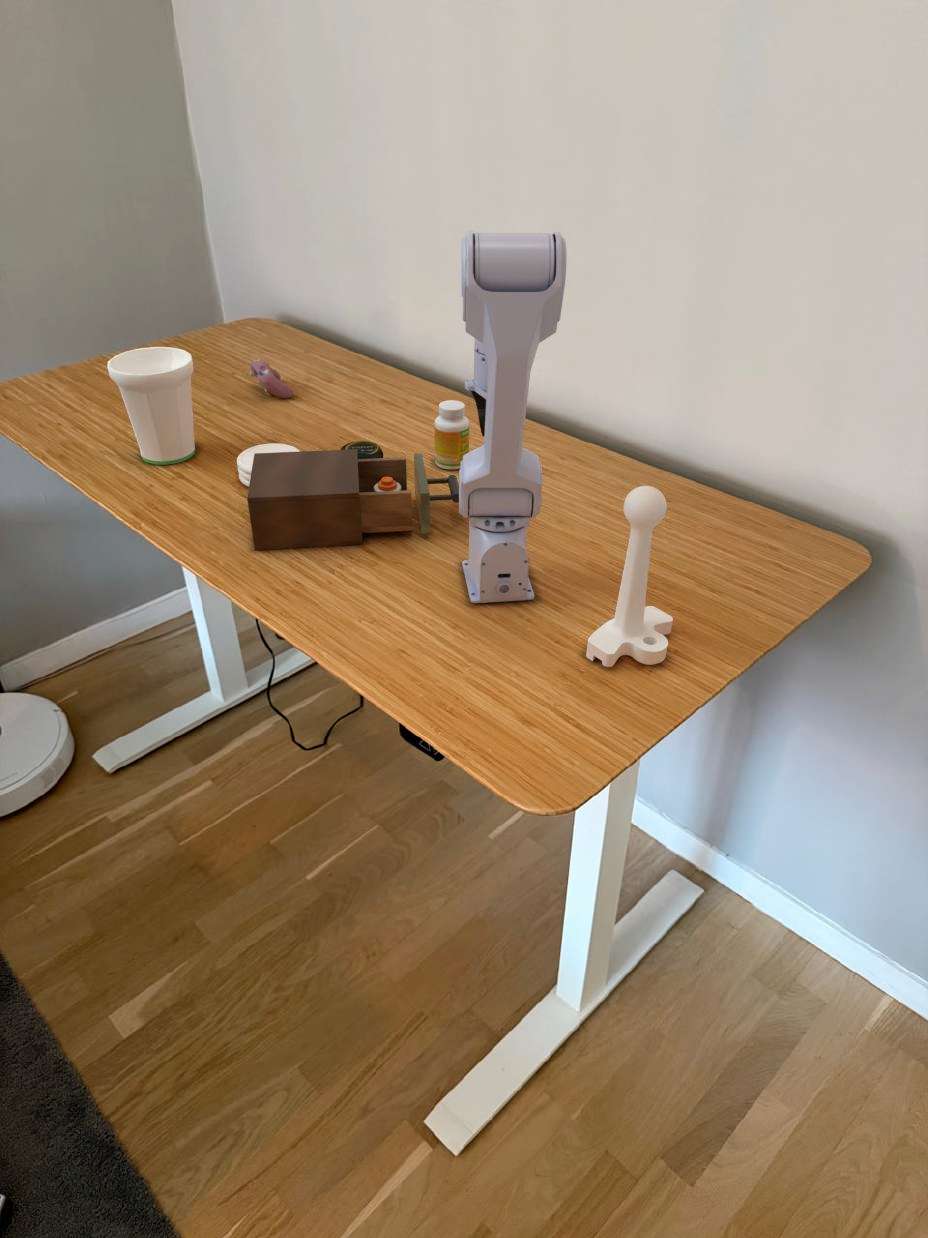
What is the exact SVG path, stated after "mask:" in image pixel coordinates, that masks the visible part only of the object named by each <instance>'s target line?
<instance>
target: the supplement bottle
mask: <svg viewBox="0 0 928 1238" xmlns="http://www.w3.org/2000/svg"><path fill="white" fill-rule="evenodd" d="M465 414H466V405H465V403H464V402H462V401H461V400H455V399H449V400H444V401H441V402H440V403H439V404H438V416H437V417H436V418H435V420H434V463H435V465H436V466H437V467H438V468H440V469H443V470H460V466H461V461H462V460H463V456H464V455H465V454H467V453H469V452H470V420H469V418H468V417H467V416H466V415H465Z"/></svg>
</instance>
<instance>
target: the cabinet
mask: <svg viewBox="0 0 928 1238" xmlns="http://www.w3.org/2000/svg"><path fill="white" fill-rule="evenodd" d="M246 499H247V507H248V513H249V519H250V527H251V534H252V540H253V547H254V551H265V550H283V549H284V550H285V549H304V548H305V549H306V548H322V547H339V546H340V547H341V546H342V547H343V546H358V545H361V546H362V545H363V533H362V526H361V511H360V496H359V478H358V460H357V449H347V450H340V449H327V450H326V449H325V450H304V451H303V450H300V452H277V453H255V454H254V459H253V465H252V471H251V478H250V484H249V487H248V491H247V497H246Z"/></svg>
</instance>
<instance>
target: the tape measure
mask: <svg viewBox="0 0 928 1238" xmlns="http://www.w3.org/2000/svg"><path fill="white" fill-rule="evenodd" d="M347 449H357V459H374V458H384V451H383V449H382V448H381V446H379V445H378V444H377V443H376V442H374V441H373V442H372V441H368V440H357V441H350V442H347V443H345V444H344V445H342V446H341V447H340V448H339V450H347Z"/></svg>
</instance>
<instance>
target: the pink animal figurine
mask: <svg viewBox="0 0 928 1238" xmlns="http://www.w3.org/2000/svg"><path fill="white" fill-rule="evenodd" d="M248 366H249V369H250V371H249V375H250V376H251V377H252V378H254V377H256V378H257V379H258V381H259V384H260V385H261V386H262V388H264V390H263V391H264V392H265V393H266V394H269V396H270V397H271V396H272V395H274V396H277V397H279V398H282V399H291V398H292V397H293V394H294V392H293V389H292V388H291V387H290V386H289V385H288V384H286V383H284V382H283V381H281V374H280V373H279V371H277V370H276V369H275V368H273V367H271V365H270V364H269V363H268V362H266V361H264V360H260V358H258V359H257V360H256V359H255V360H253V361H252V362H251V363H249V364H248Z"/></svg>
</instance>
